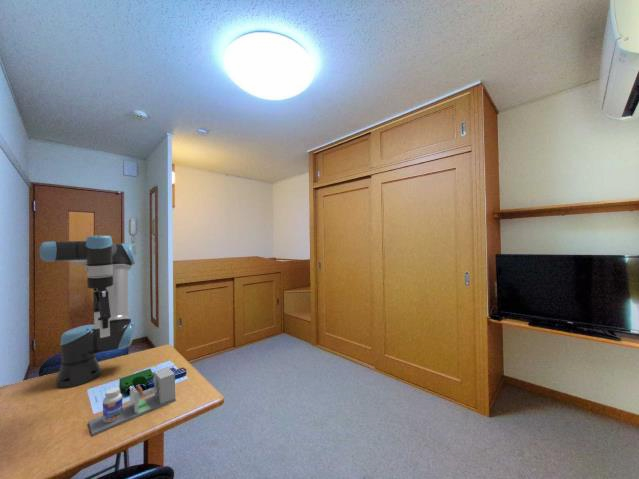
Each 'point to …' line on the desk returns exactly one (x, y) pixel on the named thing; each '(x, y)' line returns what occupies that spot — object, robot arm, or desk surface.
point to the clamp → (135, 379)
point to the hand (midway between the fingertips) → (101, 332)
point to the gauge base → (142, 402)
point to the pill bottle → (112, 405)
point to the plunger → (139, 395)
